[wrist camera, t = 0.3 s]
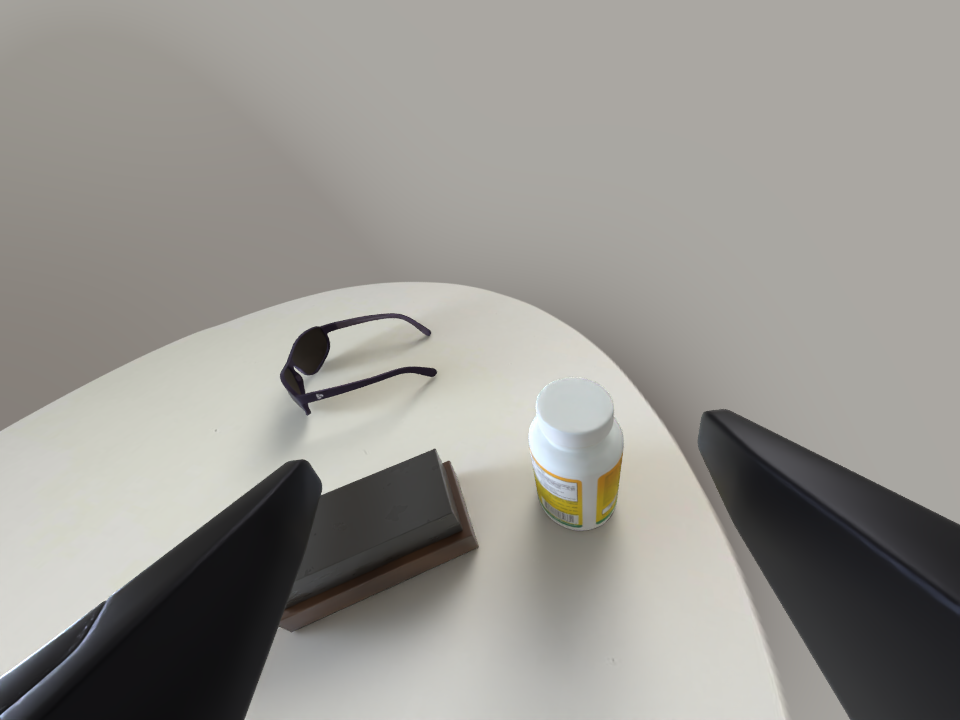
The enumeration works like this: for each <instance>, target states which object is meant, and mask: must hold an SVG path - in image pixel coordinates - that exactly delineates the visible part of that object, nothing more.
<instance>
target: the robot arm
mask: <svg viewBox="0 0 960 720" xmlns="http://www.w3.org/2000/svg"><path fill="white" fill-rule="evenodd" d="M698 447H699V450H700V453H701V455H702V457H703V459H704V462H705V464H706V466H707V468H708V470H709V472H710V475H711V477H712V479H713V481H714V483H715V485H716V488H717V490H718V492H719V494H720V496H721V498H722V500H723V502H724V505H725V507H726V509H727V511H728V513H729V515H730V517H731V519H732V521H733V523H734V525H735V527H736V529H737V530H738V532H739V534H740V536H741V537H742V539H743V541H744V542H745V544H746V546H747V547H748V549H749V551H750V552H751V554H752V556H753V557H754V559H755V561H756V562H757V564H758V566H759V567H760V569H761V571H762V572H763V574H764V576H765V577H766V579H767V581H768V582H769V584H770V586H771V587H772V589H773V591H774V592H775V594H776V596H777V598H778V599H779V601H780V603H781V604H782V606H783V608H784V609H785V611H786V613H787V614H788V616H789V618H790V619H791V621H792V623H793V624H794V626H795V628H796V629H797V631H798V633H799V634H800V636H801V638H802V639H803V641H804V643H805V644H806V646H807V648H808V649H809V651H810V653H811V654H812V656H813V658H814V659H815V661H816V663H817V664H818V666H819V668H820V669H821V671H822V673H823V675H824V676H825V678H826V680H827V681H828V683H829V685H830V686H831V688H832V690H833V691H834V693H835V695H836V696H837V698H838V700H839V701H840V703H841V705H842V706H843V708H844V709H845V711H846V713H847V714H848V716H849V718H850V720H960V525H959V524H957V523H955V522H953V521H951V520H949V519H947V518H945V517H943V516H941V515H939V514H937V513H935V512H933V511H931V510H929V509H927V508H925V507H923V506H921V505H919V504H917V503H915V502H913V501H911V500H909V499H907V498H905V497H903V496H901V495H899V494H897V493H895V492H893V491H891V490H889V489H887V488H885V487H883V486H881V485H879V484H876V483H875V482H873V481H871V480H869V479H867V478H865V477H863V476H861V475H859V474H857V473H855V472H853V471H850V470H849V469H847V468H845V467H843V466H841V465H839V464H837V463H834V462H832V461H830V460H828V459H826V458H824V457H822V456H820V455H818V454H816V453H814V452H812V451H810V450H808V449H806V448H804V447H802V446H800V445H798V444H796V443H794V442H792V441H790V440H788V439H786V438H784V437H782V436H780V435H778V434H776V433H774V432H772V431H770V430H768V429H766V428H764V427H762V426H760V425H758V424H756V423H754V422H752V421H750V420H748V419H746V418H744V417H742V416H740V415H738V414H736V413H734V412H732V411H730V410H726V409H720V410H712V411H706V412H704V413H703V415H702V417H701V423H700V429H699V435H698ZM321 492H322V483H321V480H320V478H319V477H318V475H317V474H316V472H315V471H314V469H313V468H312V466H311V465H310V463H309V462H308V461H306V460H303V459H302V460H293V461H289V462H287V463H285V464H284V465H282V466H281V467H280V468H278V469H277V470H276V471H274V472H273V473H272V474H271V475H269V476H268V477H267V478H265V479H264V480H263V481H261V482H260V483H259V484H257V485H256V486H255V487H253V488H252V489H251V490H249V491H248V492H247V493H246V494H244V495H243V496H242V497H240V498H239V499H238V500H236V501H235V502H234V503H232V504H231V505H230V506H228V507H227V508H226V509H224V510H223V511H222V512H221V513H219V514H218V515H217V516H215V517H214V518H213V519H211V520H210V521H209V522H207V523H206V524H205V525H203V526H202V527H201V528H199V529H198V530H197V531H196V532H194V533H193V534H192V535H190V536H189V537H188V538H186V539H185V540H184V541H182V542H181V543H180V544H178V545H177V546H176V547H174V548H173V549H172V550H171V551H169V552H168V553H167V554H165V555H164V556H163V557H161V558H160V559H159V560H157V561H156V562H155V563H153V564H152V565H151V566H149V567H148V568H147V569H146V570H144V571H143V572H142V573H140V574H139V575H138V576H136V577H135V578H134V579H132V580H131V581H130V582H128V583H127V584H126V585H124V586H123V587H122V588H121V589H119V590H118V591H117V592H115V593H114V594H113V595H111V596H110V597H109V598H108V600H107V601H104V602H102V603H101V604H99V605H98V606H97V607H95V608H94V609H93V610H91V611H90V612H89V613H88V614H86V615H85V616H84V617H82V618H81V619H80V620H78V621H77V622H76V623H74V624H73V625H72V626H70V627H69V628H68V629H66V630H65V631H64V632H62V633H61V634H60V635H58V636H57V637H56V638H54V639H53V640H52V641H50V642H49V643H47V644H46V645H45V646H43V647H42V648H41V649H39V650H38V651H37V652H35V653H34V654H33V655H31V656H30V657H28V658H27V659H26V660H24V661H23V662H21V663H20V664H19V665H17V666H16V667H14V668H13V669H12V670H10V671H9V672H8V673H6V674H5V675H3V676H2V677H1V678H0V720H244V719H245V716H246V714H247V711H248V708H249V705H250V703H251V700H252V697H253V694H254V692H255V689H256V686H257V684H258V681H259V678H260V675H261V673H262V670H263V667H264V664H265V662H266V659H267V656H268V654H269V651H270V648H271V645H272V643H273V640H274V637H275V634H276V632H277V629H278V626H279V624H280V621H281V618H282V615H283V613H284V610H285V607H286V604H287V602H288V599H289V596H290V594H291V591H292V588H293V585H294V583H295V580H296V577H297V574H298V572H299V569H300V566H301V563H302V560H303V558H304V555H305V551H306V548H307V544H308V541H309V537H310V533H311V530H312V526H313V522H314V518H315V515H316V511H317V507H318V503H319V500H320V496H321Z"/></svg>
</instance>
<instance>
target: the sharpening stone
mask: <svg viewBox="0 0 960 720" xmlns="http://www.w3.org/2000/svg"><path fill="white" fill-rule="evenodd" d="M478 547H479V546H478V542H477V539H476V536H475V533H474V530H473V527H472V523H471V520H470V517H469V514H468V511H467V507H466V504H465V501H464V498H463V495H462V492H461V488H460V485H459V482H458V479H457V476H456V473H455V471H454V469H453V467H452V465H451V462H450V461H447V462H444V463H442V461H441V459H440V457H439V455H438V453H437V451H436V449H433V450H431V451H428V452H426V453H423V454H421V455H419V456H416V457H414V458H411V459H409V460H406V461H404V462H401V463H399V464H397V465H394V466H392V467H389V468H387V469H384V470H382V471H379V472H377V473H375V474H372V475H370V476H367V477H365V478H362V479H360V480H357V481H355V482H353V483H350V484H348V485H345V486H343V487H340V488H338V489H335V490H333V491H331V492H328V493H326V494H323V495H321V496H320V500H319V503H318V507H317V511H316V515H315V518H314V522H313V526H312V530H311V533H310V537H309V541H308V544H307V548H306V551H305V555H304V558H303V560H302V563H301V566H300V569H299V572H298V574H297V577H296V580H295V583H294V585H293V588H292V591H291V594H290V596H289V599H288V602H287V604H286V607H285V610H284V613H283V615H282V618H281V621H280V624H279V627H281V628H283V629H286V630H288V631H290V632H293V631H295V630H297V629H299V628H302V627H304V626H306V625H308V624H310V623H313V622H315V621H317V620H319V619H322V618H324V617H326V616H328V615H330V614H333V613H335V612H337V611H339V610H341V609H344V608H346V607H348V606H350V605H352V604H355V603H357V602H359V601H361V600H363V599H366V598H368V597H370V596H372V595H374V594H377V593H379V592H381V591H383V590H385V589H388V588H390V587H392V586H394V585H397V584H399V583H401V582H403V581H405V580H408V579H410V578H412V577H414V576H416V575H419V574H421V573H423V572H425V571H427V570H430V569H432V568H434V567H436V566H438V565H441V564H443V563H445V562H447V561H449V560H452V559H454V558H456V557H458V556H460V555H463V554H465V553H467V552H469V551H471V550H474V549H476V548H478Z"/></svg>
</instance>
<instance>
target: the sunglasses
mask: <svg viewBox="0 0 960 720" xmlns="http://www.w3.org/2000/svg"><path fill="white" fill-rule="evenodd" d="M385 318H399V319H403V320H405V321H407V322H409V323H411V324H412V325H413V326H415V327H416V328H417V329H419V330H420V331H421V332H422V333H424V334H425V335H427V336H429V335H430V334H431V331H430V330H429V329H427V328H426V327H424V326H423V325H421V324H420V323H418V322H416V321H415V320H413V319H411V318H409V317H407V316H405V315H402V314H394V313H390V314H377V315H369V316H363V317H357V318H352V319H347V320H343V321H338V322H334V323H330V324H326V325H323V326H321V327H318V326H316V327H312V328H310V329H308V330H306V331H305V332H303V333H302V334H301V335H300V336H299V337H298V338H297V339H296V341H295V342H294V344H293V346H292V349H291V352H290V354H289V357H288V360H287V363H286V364H285V366H284V368H283V369H282V371H281V373H280V379H281V382H282V383H283V385H284V386H285V388H286V389H287V391H288V393H289V394H290V396H291V397H292V399H293V400H294V401H295V402H296V403H297V404H298V405H299V406H300V407H301V408H302V409H303V410H305V412H306V415H309V414H311V411H310V409H309V407H308V403H310V402H314V401H318V400H321V399H325V398H329V397H332V396H336V395H339V394H342V393H346V392H349V391H352V390H355V389H358V388H361V387H364V386H367V385H370V384H373V383H376V382H379V381H382V380H384V379H387V378H390V377H393V376H396V375H399V374H403V373H416V374H421V375H425V376H429V377H434V376H435V375H436V374H437V371H436V370H435V369H434V368H426V367H403V368H399V369H395V370H392V371H389V372H386V373H383V374H380V375H377V376H374V377H371V378H367V379H364V380H360V381H356V382H352V383H348V384H345V385H341V386H337V387H333V388H328V389H324V390H319V391H315V392H310V393H307V394H305V389H304V383H303V379H302V377H301V375H300V374H299V373H297V372H296V371H295V370H294V367H295V368H296V369H298V370H299V371H300V372H301V373H303V374H305V375H313V374H315V373H316V372H318V370H319V369H320V368H321V366H322V365H323V363H324V361H325V359H326V358H327V355H328V353H329V350H330V341H329V338H328V335H327V333H329V332H331V331H334V330H337V329H341V328H344V327H348V326H352V325H356V324H360V323H364V322H368V321H373V320H378V319H385Z"/></svg>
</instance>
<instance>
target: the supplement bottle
mask: <svg viewBox="0 0 960 720" xmlns="http://www.w3.org/2000/svg"><path fill="white" fill-rule="evenodd" d="M536 413H537V415H536V417H535V418H534V420H533V421H532V423H531V426H530V430H529V447H530V452H531V458H532V464H533V470H534V475H535V481H536V487H537V492H538V497H539V501H540V504H541V506H542V508H543V509H544V511H545V512H546V514H547V515H548V516H549V517H550V518H551V519H552V520H553V521H554V522H556V523H557V524H559V525H561V526H563V527H565V528H568V529H571V530H579V531H584V530H591V529H594V528H596V527H599V526H601V525H602V524H604V523H605V522H606V521H607V520H608V519H609V517H610V516H611V515H612V513H613V511H614V509H615V506H616V502H617V495H618V487H619V479H620V471H621V463H622V456H623V448H624V438H623V433H622V429H621V427H620V425H619V423H618V421H617V420H616V419H615V417H614V416H613V415H614V405H613V400H612V398H611V396H610V394H609V393H608V391H607V390H606V389H605V388H604V387H602V386H601V385H600V384H598V383H596V382H594V381H592V380H589V379H585V378H580V377H568V378H562V379H559V380H556V381H553V382H551V383H550V384H548V385H547V386H546V387H545V388H543V389H542V391H541V392H540V393H539V395H538V397H537V401H536Z"/></svg>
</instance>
